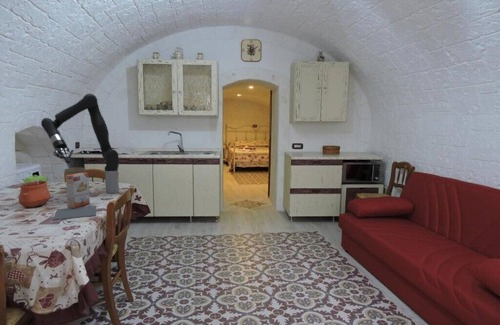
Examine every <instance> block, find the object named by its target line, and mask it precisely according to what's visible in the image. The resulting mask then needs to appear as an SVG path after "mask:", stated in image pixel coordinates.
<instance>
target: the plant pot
mask: <svg viewBox="0 0 500 325" xmlns="http://www.w3.org/2000/svg"><path fill="white" fill-rule="evenodd" d="M63 171H64V175H65V176H66V175H72V174H78V173H86V168H85V167H70V168H69V167H68V168H64V170H63Z"/></svg>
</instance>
